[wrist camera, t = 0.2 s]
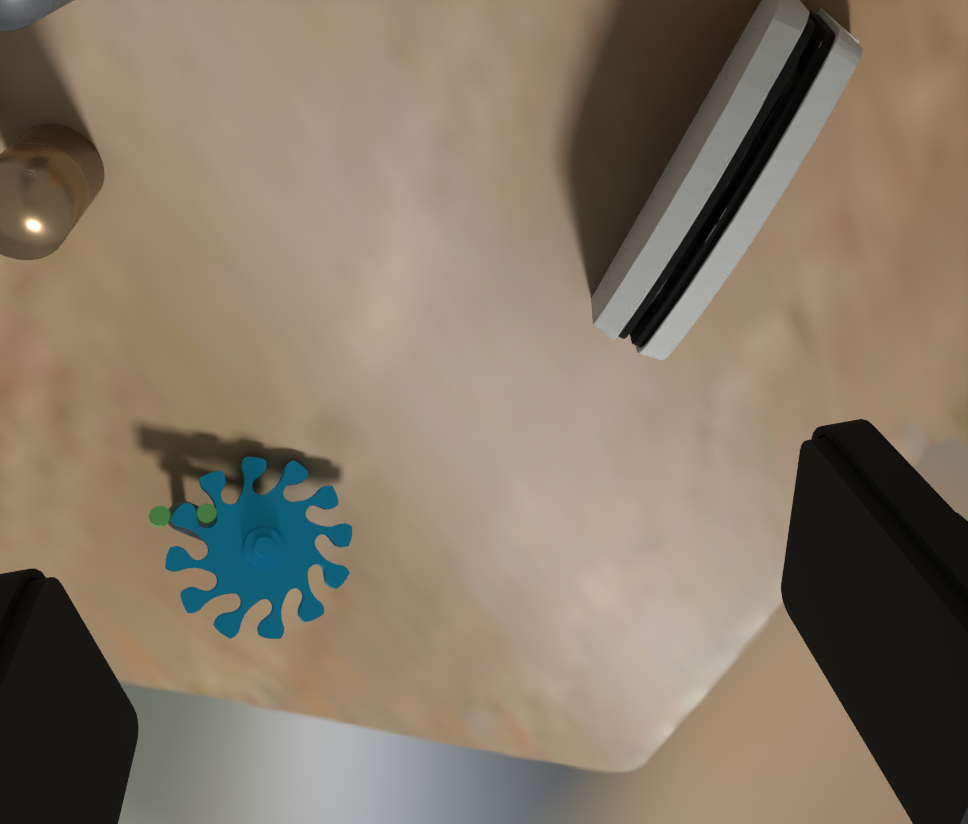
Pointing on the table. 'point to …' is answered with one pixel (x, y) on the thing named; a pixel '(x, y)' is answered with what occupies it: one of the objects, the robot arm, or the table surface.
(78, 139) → the short pin
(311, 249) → the table surface
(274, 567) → the gear
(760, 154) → the napkin holder
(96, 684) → the robot arm
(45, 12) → the tall pin
